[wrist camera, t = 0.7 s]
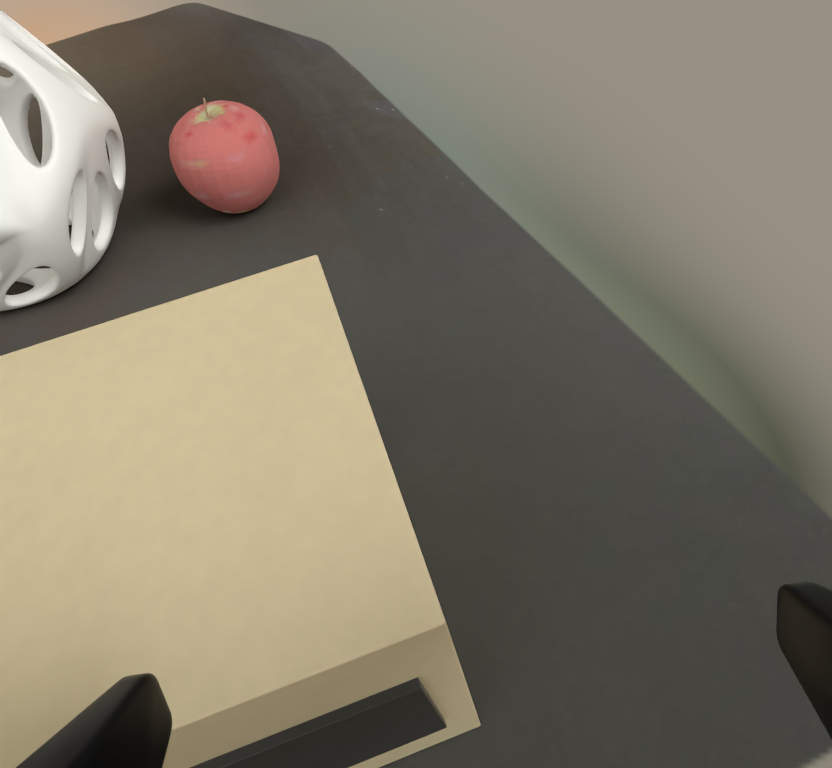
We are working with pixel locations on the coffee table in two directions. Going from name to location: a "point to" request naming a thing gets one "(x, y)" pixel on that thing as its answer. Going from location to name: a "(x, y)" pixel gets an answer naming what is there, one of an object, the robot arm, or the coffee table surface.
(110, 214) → the decorative ball
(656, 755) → the coffee table surface
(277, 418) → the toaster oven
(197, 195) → the apple
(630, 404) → the coffee table surface
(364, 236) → the coffee table surface
